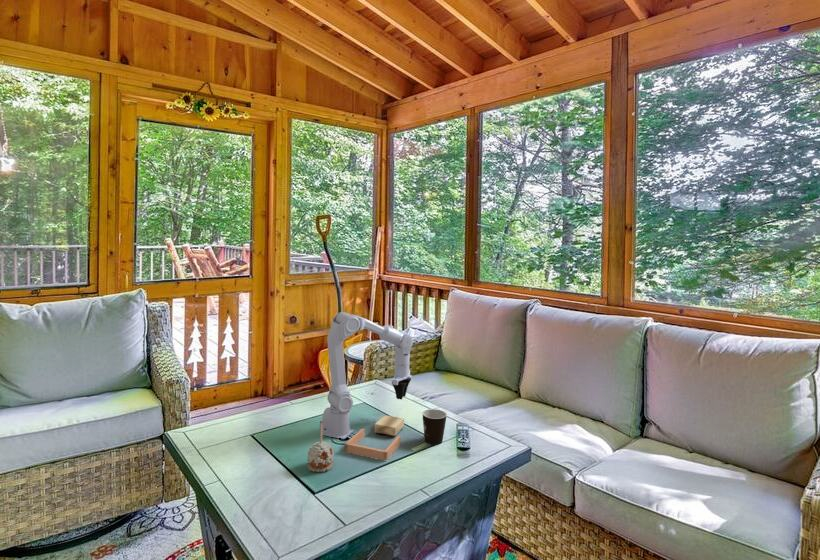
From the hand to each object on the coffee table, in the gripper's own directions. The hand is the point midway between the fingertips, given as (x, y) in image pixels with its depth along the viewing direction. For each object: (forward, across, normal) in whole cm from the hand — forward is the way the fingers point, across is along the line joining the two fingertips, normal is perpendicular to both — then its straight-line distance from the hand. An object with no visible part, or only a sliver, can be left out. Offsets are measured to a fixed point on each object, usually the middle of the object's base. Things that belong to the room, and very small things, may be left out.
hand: (400, 397), depth 180 cm
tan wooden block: (+9, -11, 0) cm, 14 cm away
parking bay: (+9, -25, 0) cm, 27 cm away
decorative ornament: (+10, -43, +10) cm, 46 cm away
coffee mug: (+10, -10, -17) cm, 22 cm away
